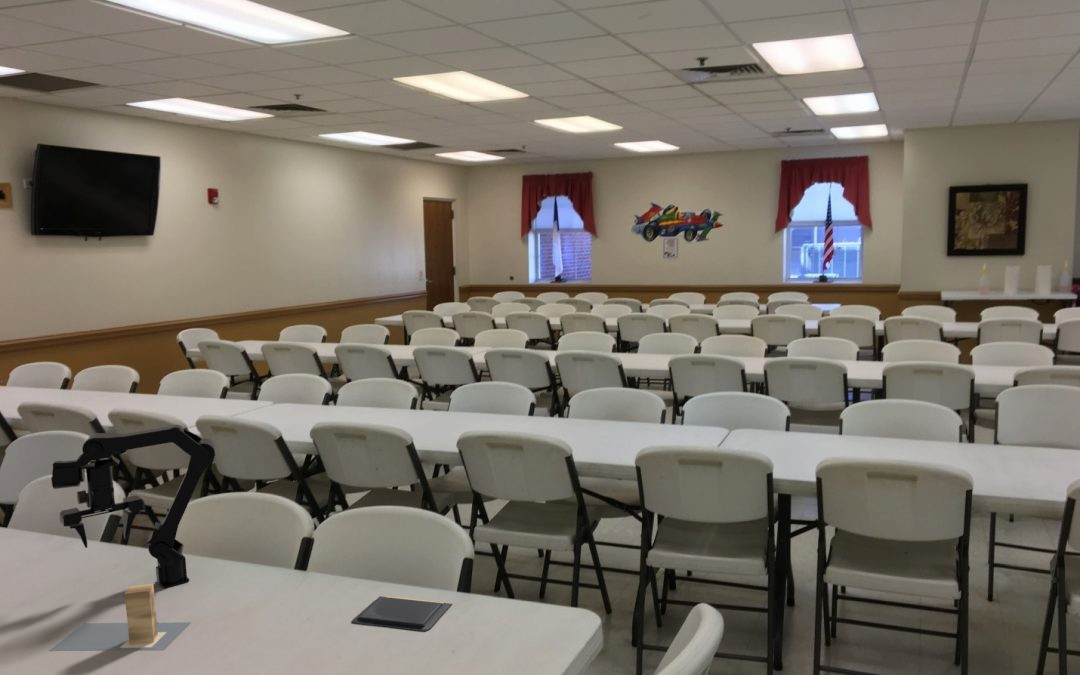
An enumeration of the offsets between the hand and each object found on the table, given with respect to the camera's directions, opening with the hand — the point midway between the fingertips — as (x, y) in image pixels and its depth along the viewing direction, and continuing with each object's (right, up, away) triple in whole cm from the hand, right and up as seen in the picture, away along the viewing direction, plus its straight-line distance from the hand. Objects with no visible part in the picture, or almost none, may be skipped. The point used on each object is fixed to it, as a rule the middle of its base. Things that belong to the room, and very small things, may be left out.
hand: (106, 542), depth 214 cm
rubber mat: (+17, -16, -24) cm, 33 cm away
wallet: (+79, -14, -16) cm, 82 cm away
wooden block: (+22, -15, -27) cm, 38 cm away
